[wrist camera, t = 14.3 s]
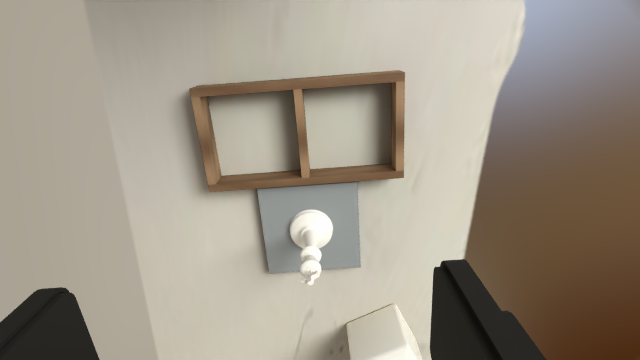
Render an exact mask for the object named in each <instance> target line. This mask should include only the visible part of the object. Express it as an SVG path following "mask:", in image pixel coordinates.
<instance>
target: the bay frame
mask: <svg viewBox="0 0 640 360" xmlns="http://www.w3.org/2000/svg"><path fill="white" fill-rule="evenodd" d="M388 82H391V164H378V165H365V166H351V167H337V168H324V169H310V167H309V156H308V144H307V133H306V121H305V110H304V98H303V89H309V88H323V87H336V86H349V85H362V84H375V83H388ZM189 90H190V95H191V101H192V106H193V111H194V116H195V121H196V126H197V131H198V136H199V141H200V146H201V151H202V156H203V162H204V167H205V172H206V177H207V182H208V187H209V192H215V191H229V190H243V189H257V188H270V187H284V186H298V185H312V184H325V183H339V182H353V181H366V180H380V179H394V178H404V101H405V72H402V71H386V72H372V73H359V74H346V75H333V76H320V77H307V78H294V79H281V80H268V81H255V82H242V83H228V84H215V85H202V86H196V87H193V88H190V89H189ZM283 90H293V93H294V103H295V113H296V124H297V134H298V144H299V155H300V165H301V170H296V171H283V172H269V173H255V174H242V175H228V176H221V171H220V165H219V160H218V154H217V149H216V143H215V138H214V132H213V127H212V121H211V116H210V110H209V104H208V99H207V96H217V95H231V94H244V93H257V92H270V91H283Z"/></svg>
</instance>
